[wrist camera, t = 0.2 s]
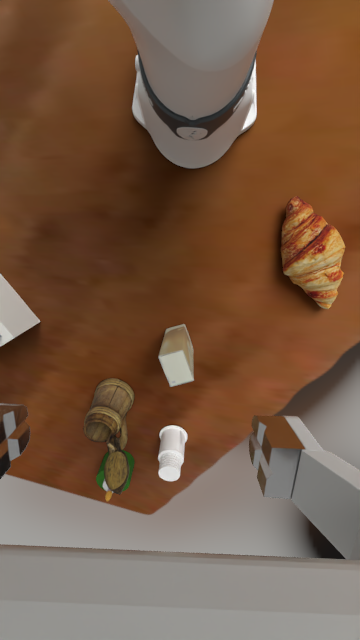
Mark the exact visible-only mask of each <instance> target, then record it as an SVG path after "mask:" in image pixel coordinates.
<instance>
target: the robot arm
mask: <svg viewBox="0 0 360 640" xmlns="http://www.w3.org/2000/svg"><path fill="white" fill-rule="evenodd" d="M108 1H109V2H110V3H111V4H112V5H113V6H114V8H115V9H116V10H117V11H118V12H119V14H120V15H121V16H122V17H123V19H124V20H125V21H126V23H127V24H128V26H129V27H130V30H131V32H132V35H133V37H134V40H135V42H136V45H137V48H138V55H136V59H135V68H136V70H137V77H136V84H135V91H134V97H133V104H132V111H133V115H134V117H135V119H136V120H137V121H138V122H139V123H140V124H141V125H142V126H143V127H144V128H145V129H147V130H148V132H149V133H150V135H151V137H152V139H153V141H154V143H155V145H156V146H157V148H158V149H159V151H160V152H161V153H162V154H163V155H164V156H165V157H166V158H167V159H168V160H169V161H171V162H172V163H174V164H176V165H178V166H181V167H185V168H201V167H205V166H207V165H210V164H212V163H213V162H215V161H217V160H218V159H219V158H220V157H222V156H223V155H224V154H225V152H226V151H227V150H228V149H229V147H230V146H231V145H232V143H233V142H234V140H235V139H236V138H237V137H238V136H239V135H240V134H242V133H243V132H245V131H246V130H247V129H249V128H250V127H251V126H252V125H253V124H254V122H255V119H256V115H257V105H256V52H257V47H258V44H259V42H260V39H261V36H262V34H263V31H264V28H265V26H266V23H267V20H268V17H269V14H270V12H271V8H272V4H273V1H274V0H108ZM27 417H28V411H27V407H26V406H24V405H18V404H3V403H0V479H1V478H2V476H3V475H4V474H5V473H6V472H7V471H8V469H9V468H10V467H11V460H13V459H15V458H16V457H18V456H20V455H21V454H22V452H23V451H24V450H25V448H26V446H27V444H28V442H29V439H30V426H29V425H28V424H27V423H26V422H25V419H26V418H27ZM252 428H253V430H254V432H253V433H252V435H251V436H250V441H249V451H250V457H251V461H252V464H253V466H254V467H255V468H256V469H257V470H258V475H257V479H258V481H259V484H260V487H261V490H262V493H263V496H264V497H272V498H286V499H292V501H293V503H294V504H295V505H296V506H297V507H298V508H299V509H300V510H301V511H302V512H303V513H304V514H305V515H306V517H307V518H308V519H309V520H310V521H311V522H312V523H313V524H314V525H315V526H316V527H317V528H318V529H319V530H320V531H321V532H322V534H323V535H324V536H325V537H326V538H327V539H328V540H329V541H330V542H331V543H332V544H333V545H334V546H335V547H336V549H337V550H339V552H340V553H341V554H342V555H343V556H344V557H345V558H346V559H347V560H344V559H320V558H298V557H297V558H296V557H277V556H276V557H275V556H254V555H231V554H208V553H184V552H161V551H137V550H113V549H92V548H69V547H46V546H45V547H44V546H22V545H0V640H360V470H358V469H357V468H355V467H354V466H352V465H350V464H349V463H347V462H346V461H344V460H342V459H341V458H339V457H338V456H336V455H334V454H333V453H331V452H329V451H324V450H323V449H322V448H321V446H320V445H319V444H318V442H317V441H316V440H315V438H314V437H313V436H312V435H311V433H310V432H309V430H308V429H307V428H306V426H305V425H304V424H303V422H302V421H301V420H300V418H298V417H297V416H255V415H254V417H253V419H252Z"/></svg>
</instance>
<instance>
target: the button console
mask: <svg viewBox="0 0 360 640" xmlns="http://www.w3.org/2000/svg"><path fill="white" fill-rule="evenodd" d="M39 322H41V321H40V320H39V319H38V318H37V317H36V315H35V314H34V313H33V312H32V311H31V309H30V308H29V307H28V306H27V305H26V303H25V302H24V301H23V300H22V299H21V298H20V296H19V295H18V294H17V293H16V292H15V290H14V289H13V288H12V287H11V286H10V284H9V283H8V282H7V281H6V280H5V278H4V277H3V276H2V275H1V274H0V347H1V346H3V345H4V344H6V343H7V342H9V341H11V340H12V339H14V338H15V337H17V336H19V335H20V334H22V333H23V332H25V331H27V330H28V329H30V328H31V327H33V326H35V325H36V324H38V323H39Z"/></svg>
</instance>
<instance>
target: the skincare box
mask: <svg viewBox="0 0 360 640" xmlns="http://www.w3.org/2000/svg"><path fill="white" fill-rule="evenodd" d="M158 358H159V360H160V363H161V365H162V368H163V370H164V373H165V375H166V377H167V380H168V382H169V385H170V387H172V386H176V385H180V384H184V383H188V382H191V381H194V375H193V346H192V343H191V340H190V337H189V334H188V331H187V329H186V326H185V324H182V325H178V326H175V327H171V328H168V329H166V331H165V335H164V338H163V342H162V346H161V349H160V353H159V356H158Z"/></svg>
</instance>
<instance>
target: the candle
mask: <svg viewBox="0 0 360 640" xmlns="http://www.w3.org/2000/svg"><path fill="white" fill-rule="evenodd" d="M122 451H124V450H122ZM124 452H125V454H126V456H127V459H128V463H129V477H128V479H127V482H126V484H125V487H124V489H123V491H124V490H126V489H127V488H128V487H129V484H130V480H131V476H132V472H133V468H134V458H133V456H132V455H131V454H130V453H128V452H126V451H124ZM108 455H109V453H108V452H107V453H106V454H105V456H104V458H103V461H102V464H101V466H100V469H99V472H98V474H97V477H96V481H97V484H98V485H99V486H100V487H101V488H102V489H104V490H106V491H107V493H106V496H105V499H106V501H108V500H110V498H111V496H112V493H114V492H112V491H111V490H110V489H109V488H108V486H107V484H106V481H105V477H104V466H105V463H106V459H107V457H108Z"/></svg>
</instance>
